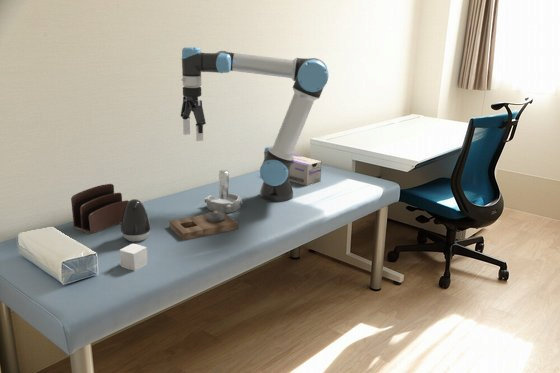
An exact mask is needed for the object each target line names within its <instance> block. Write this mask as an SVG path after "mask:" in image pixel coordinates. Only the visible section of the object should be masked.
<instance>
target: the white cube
mask: <svg viewBox="0 0 560 373" xmlns="http://www.w3.org/2000/svg"><path fill="white" fill-rule="evenodd" d="M148 259H149V258H148V247H147V246H144V245H140V244H136V243H134V242H132V243H130V244H129V245H126V246H125V247H123V248H120V249H119V260H120V267H121V268H124V269H126V270H130V271H134V272H135V271H138V270H139V269H141V268H143V267H144V266H146V265H148V264H149V262H148Z"/></svg>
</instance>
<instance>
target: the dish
mask: <svg viewBox="0 0 560 373" xmlns="http://www.w3.org/2000/svg"><path fill="white" fill-rule="evenodd" d="M203 199H204V200H203V201H204V203H206V208H207V209H208V210H209V211H210V212H213V211H217V212H221V211H222V212H223V213H225V214H227V213H228V214H229V213H233V212H236V211H238V210H239V209H240V207H241V205H242V204H243V199H242V198H240V196H239V195H237V194H236V193H231V192H230V193H229V192H228V199H220V198H215V197H214V196H213V195H211V194H210V195H208V196H207V197H204V198H203Z"/></svg>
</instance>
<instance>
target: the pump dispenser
mask: <svg viewBox="0 0 560 373" xmlns="http://www.w3.org/2000/svg"><path fill="white" fill-rule="evenodd" d="M128 201H129V202H128V203H127V204H126V206H125V209H124V212H123V217H122V222H121V224H120V231H121V233H122V235H123V238H125V239H126V240H127V241H129V242H132V243H137V242H142V241H145V239H147V238H148V237H149V234H150V231H151V222H150V218H149V215H148V212H147V210H146V207H145V205H144V204H143V203H142V201H141V200H139V199H136V198H133V199H130V200H128Z"/></svg>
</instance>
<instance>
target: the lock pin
mask: <svg viewBox="0 0 560 373" xmlns="http://www.w3.org/2000/svg"><path fill="white" fill-rule="evenodd" d="M229 178H230V171H229V170H226V169H222V170H219V173H218V199H228V193H229V191H230V190H229V183H230V182H229V180H230V179H229Z"/></svg>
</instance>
